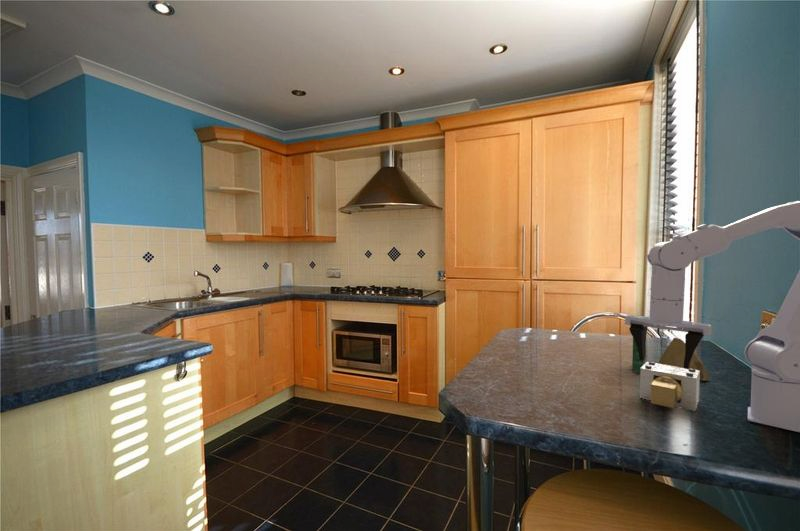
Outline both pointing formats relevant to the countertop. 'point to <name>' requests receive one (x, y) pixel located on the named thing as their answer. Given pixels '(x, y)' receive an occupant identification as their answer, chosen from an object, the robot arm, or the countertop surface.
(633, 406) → the countertop surface
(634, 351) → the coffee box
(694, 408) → the housing
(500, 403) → the countertop surface
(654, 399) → the gold rounded block
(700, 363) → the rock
